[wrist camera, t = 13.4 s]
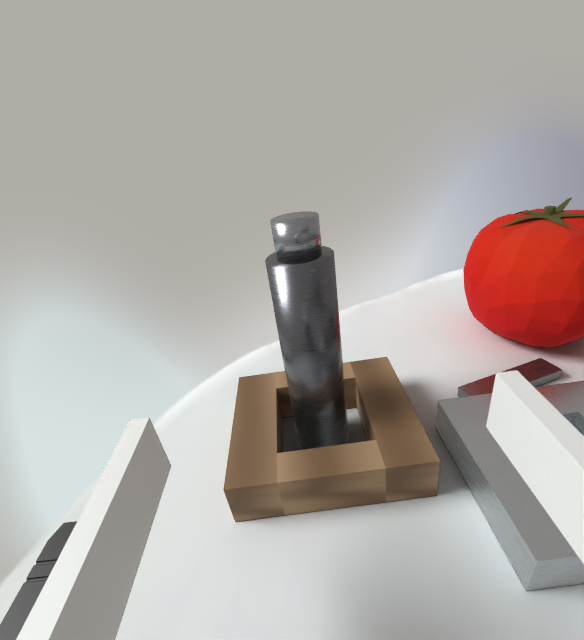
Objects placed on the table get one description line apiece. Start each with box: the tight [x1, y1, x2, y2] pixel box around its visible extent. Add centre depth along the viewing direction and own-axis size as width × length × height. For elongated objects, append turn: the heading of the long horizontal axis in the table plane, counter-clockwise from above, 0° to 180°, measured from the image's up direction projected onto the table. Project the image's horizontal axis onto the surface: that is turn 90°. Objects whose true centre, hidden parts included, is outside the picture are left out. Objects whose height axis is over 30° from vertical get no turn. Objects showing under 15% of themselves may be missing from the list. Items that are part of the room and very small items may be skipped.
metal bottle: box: [265, 212, 349, 450], centre depth 21 cm, size 4×4×16 cm
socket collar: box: [436, 381, 584, 591], centre depth 19 cm, size 10×10×2 cm
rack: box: [224, 357, 440, 522], centre depth 24 cm, size 12×10×3 cm
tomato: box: [464, 198, 584, 347], centre depth 30 cm, size 12×13×12 cm
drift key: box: [458, 358, 562, 398], centre depth 27 cm, size 8×2×1 cm, turn 108°
